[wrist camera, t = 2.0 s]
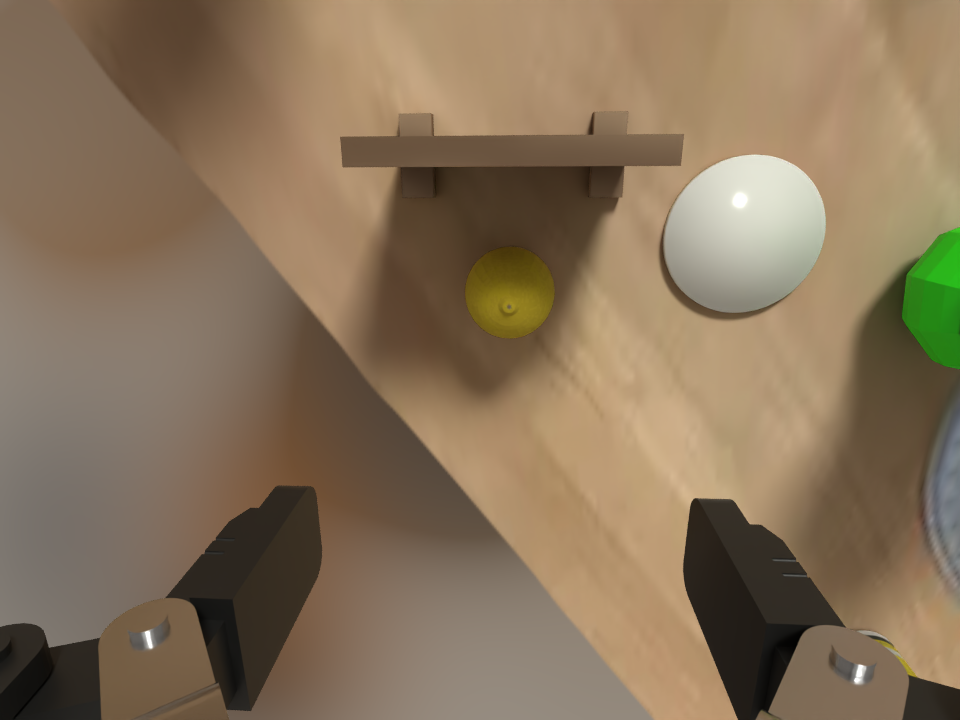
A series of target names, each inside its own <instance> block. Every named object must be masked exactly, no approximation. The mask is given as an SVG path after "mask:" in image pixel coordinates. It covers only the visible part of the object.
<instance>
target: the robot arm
mask: <svg viewBox="0 0 960 720" xmlns="http://www.w3.org/2000/svg"><path fill="white" fill-rule="evenodd" d="M319 526H320V525H319V516H318V506H317V497H316V492H315V490H314V488H313V487H311V486H277V487H275V488H274V489H273V491H272V492H271V493H270V494H269V496H268V497H267V498H266V500H265V501H264V502H263V504H262V505H261V506H260V507H259V508H250V509H248V510H246V511H245V512H243V513H242V514H240V515H239V516H237V517H236V518H234V519H232V520H231V521H229V522H228V524H227V525H226V526H225V527H224V528H223V530H222V531H221V532H220V533H219V535H218V536H217V537H216V541H213V542H212V543H211V544H210V545H209V547H208V548H207V549H206V550H205V554H202V555H201V556H200V557H199V559H198V560H197V561H196V562H195V563H194V564H193V566H192V567H191V568H190V569H189V570H188V572H187V573H186V574H185V575H184V576H183V578H182V579H181V580H180V581H179V583H178V584H177V585H176V586H175V587H174V588H173V590H172V591H171V592H170V593H169V594H168V596H167V597H166V598H164V599H158V600H153V601H149V602H146V603H143V604H141V605H138V606H136V607H134V608H132V609H130V610H128V611H126V612H125V613H123V614H122V615H120V616H119V617H118V618H116V619H115V620H114V621H113V622H112V623H110V624H109V626H108V627H107V628H106V629H105V631H104V632H103V633H102V635H101V637H100V638H97V639H93V640H88V641H83V642H77V643H72V644H67V645H61V646H56V647H51V648H49V647H48V643H47V640H46V636H45V633H44V631H43V630H42V629H41V628H40V627H38V626H37V625H33V624H25V623H22V624H12V625H6V626H2V627H0V720H229V718H228V714H227V710H244V711H251V710H252V707H253V706H254V704H255V701H256V700H257V697H258V695H259V694H260V691H261V689H262V688H263V686H264V684H265V681H266V679H267V678H268V676H269V673H270V672H271V670H272V668H273V666H274V664H275V662H276V660H277V657H278V655H279V653H280V651H281V649H282V647H283V645H284V643H285V641H286V639H287V637H288V635H289V633H290V631H291V629H292V627H293V625H294V623H295V621H296V619H297V617H298V615H299V613H300V611H301V609H302V607H303V605H304V603H305V601H306V599H307V597H308V595H309V593H310V591H311V589H312V587H313V585H314V583H315V581H316V579H317V577H318V574H319V571H320V566H321V559H322V545H321V535H320V527H319ZM683 573H684V582H685V587H686V591H687V594H688V597H689V600H690V602H691V604H692V607H693V609H694V612H695V614H696V617H697V619H698V622H699V624H700V627H701V629H702V632H703V634H704V637H705V639H706V642H707V644H708V647H709V649H710V652H711V654H712V656H713V659H714V661H715V664H716V666H717V669H718V671H719V674H720V676H721V679H722V681H723V684H724V686H725V689H726V691H727V694H728V696H729V699H730V701H731V703H732V706H733V708H734V711H735V713H736V716H737V718H738V720H960V689H956V688H953V687H949V686H945V685H942V684H938V683H934V682H931V681H927V680H923V679H920V678H917V677H914V676H911V675H908V674H907V671H906V669H905V667H904V666H903V664H902V663H901V662H900V660H899V659H898V658H897V657H896V656H895V655H894V654H893V653H892V652H891V651H890V650H888V649H887V648H886V647H885V646H883V645H882V644H880V643H879V642H877V641H876V640H874V639H872V638H870V637H868V636H866V635H864V634H862V633H860V632H857V631H854V630H852V629H848V628H846V627H845V626H844V624H843V623H842V622H841V620H840V619H839V617H838V616H837V615H836V613H835V612H834V611H833V609H832V608H831V606H830V605H829V604H828V602H827V601H826V600H825V598H824V597H823V595H822V594H821V593H820V591H819V590H818V589H817V587H816V586H815V584H814V583H813V582H812V580H811V579H810V578H807V573H806V572H805V571H804V569H803V568H802V566H801V565H800V564H799V562H796V558H795V557H794V555H793V554H792V553H791V551H790V550H789V548H788V547H787V546H786V544H785V543H784V542H783V540H781V539H780V538H778V537H777V536H776V535H774V534H773V533H772V532H770V531H769V530H767V529H766V528H765V527H763V526H762V525H751V524H749V523H748V521H747V520H746V518H745V517H744V515H743V514H742V512H741V511H740V509H739V508H738V506H737V505H736V503H735V502H734V501H733V500H731V499H699V498H695V499H693V501H692V503H691V506H690V513H689V521H688V529H687V537H686V546H685V554H684V563H683Z"/></svg>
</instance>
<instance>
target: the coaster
mask: <svg viewBox="0 0 960 720" xmlns="http://www.w3.org/2000/svg"><path fill="white" fill-rule="evenodd" d="M825 228H826V219H825V211H824V205H823V202H822V199H821V196H820V194H819V192H818V190H817V188H816V186H815V185H814V184H813V182H812V181H811V179H810V178H809V177H808V176H807V175H806V174H805V173H804V172H803V171H802V170H800V169H799V168H798V167H796V166H795V165H793V164H791V163H789V162H787V161H785V160H782V159H780V158H777V157H772V156H767V155H743V156H737V157H732V158H729V159H726V160H723V161H720V162H718V163H716V164H714V165H712V166H710V167H708V168H706V169H705V170H703V171H702V172H700V173H699V174H698V175H697V176H695V177H694V178H693V179H692V180H691V181H690V182H689V183H688V184H687V185H686V186H685V187H684V188H683V190H682V191H681V192H680V193H679V195H678V196H677V198H676V199H675V201H674V203H673V205H672V206H671V209H670V211H669V213H668V216H667V219H666V222H665V226H664V232H663V254H664V259H665V263H666V266H667V269H668V271H669V274H670V276H671V277H672V279H673V281H674V282H675V284H676V285H677V286H678V287H679V289H680V290H681V291H682V292H683V293H685V294H686V295H687V296H688V297H689V298H691V299H692V300H694V301H695V302H696V303H698V304H700V305H702V306H704V307H707V308H709V309H712V310H716V311H721V312H729V313H740V312H748V311H754V310H757V309H761V308H764V307H766V306H769V305H771V304H773V303H775V302H777V301H779V300H780V299H782V298H784V297H785V296H786V295H788V294H789V293H790V292H792V291H793V290H794V289H795V288H796V287H797V286H798V285H799V284H800V283H801V282H802V281H803V280H804V279H805V278H806V276H807V275H808V274H809V272H810V271H811V269H812V268H813V266H814V264H815V262H816V260H817V259H818V256H819V254H820V251H821V249H822V245H823V241H824V237H825Z"/></svg>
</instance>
